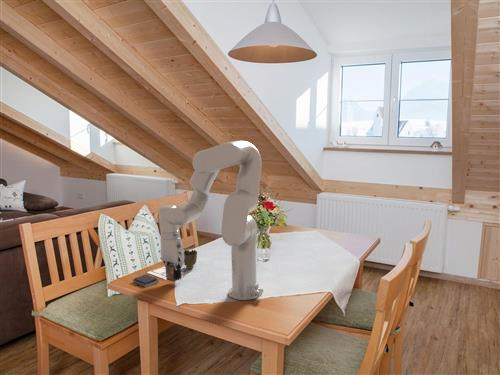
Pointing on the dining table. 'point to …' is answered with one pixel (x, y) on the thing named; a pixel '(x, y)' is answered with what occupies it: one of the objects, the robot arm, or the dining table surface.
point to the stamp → (170, 272)
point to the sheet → (160, 272)
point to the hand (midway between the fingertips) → (173, 276)
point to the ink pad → (145, 280)
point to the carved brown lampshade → (190, 258)
